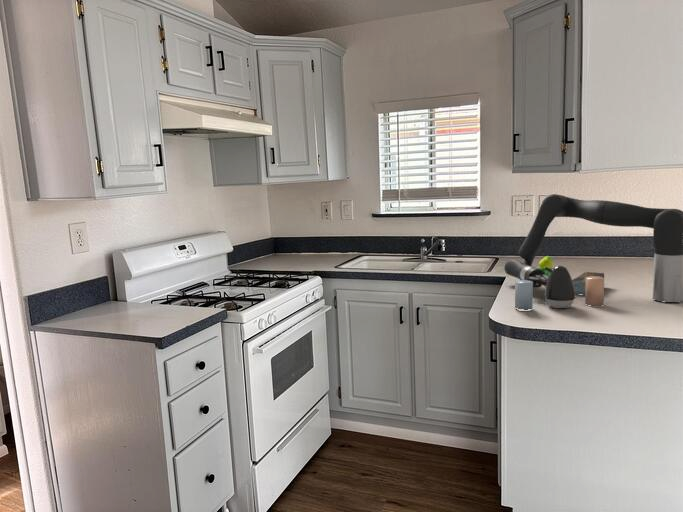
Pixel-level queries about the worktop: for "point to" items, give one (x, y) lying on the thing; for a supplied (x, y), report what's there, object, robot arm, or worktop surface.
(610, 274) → the worktop surface
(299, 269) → the worktop surface
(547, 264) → the fruit basket
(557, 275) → the pump dispenser
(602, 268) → the worktop surface
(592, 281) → the terracotta canister
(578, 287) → the beverage carton
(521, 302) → the slate-blue canister
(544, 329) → the worktop surface
